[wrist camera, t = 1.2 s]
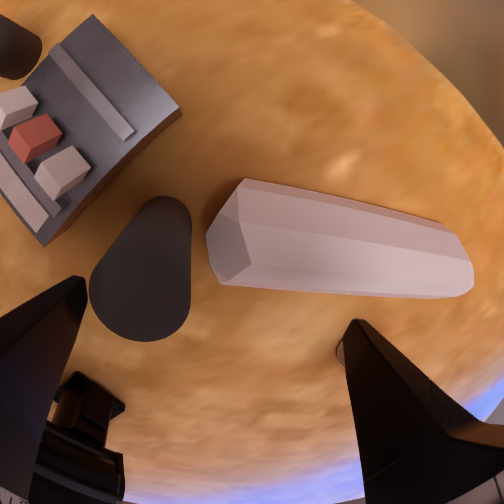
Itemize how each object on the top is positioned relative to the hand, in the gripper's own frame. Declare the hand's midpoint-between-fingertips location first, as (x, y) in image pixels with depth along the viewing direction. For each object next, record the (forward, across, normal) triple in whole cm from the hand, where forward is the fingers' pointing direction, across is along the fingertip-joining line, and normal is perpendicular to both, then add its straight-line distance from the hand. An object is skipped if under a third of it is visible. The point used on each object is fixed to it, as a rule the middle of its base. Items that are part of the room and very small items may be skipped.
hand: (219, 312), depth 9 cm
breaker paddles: (+9, +11, -4) cm, 14 cm away
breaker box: (+12, +11, -3) cm, 17 cm away
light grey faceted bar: (+14, -11, +3) cm, 18 cm away
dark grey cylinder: (+12, +4, +4) cm, 13 cm away
